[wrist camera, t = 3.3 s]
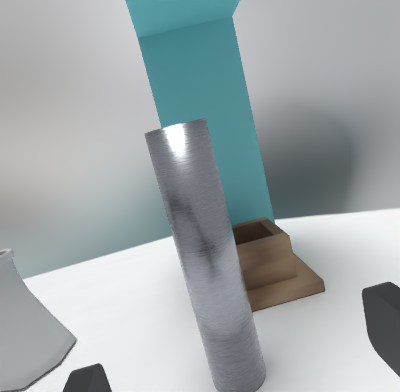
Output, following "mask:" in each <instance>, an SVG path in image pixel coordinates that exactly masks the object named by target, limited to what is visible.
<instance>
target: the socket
mask: <svg viewBox="0 0 400 392" xmlns="http://www.w3.org/2000/svg"><path fill="white" fill-rule="evenodd" d="M231 227H232V231H233V235H234V239H235V243H236V248H237V252H238V256H239V260H240V265H241V269H242V273H243V277H244V281H245V286H246V290H247V294H248V298H249V303H250V307H251V311H252V312H253V311H256V310H260V309H263V308H267V307H270V306H274V305H277V304H281V303H284V302H288V301H291V300H295V299H298V298H302V297H305V296H309V295H312V294H316V293H319V292H323V291H325V287H324V282H323V280H322V279H321V278H320V277H319V276H318V275H317V274H316V273H315V272H314V271H313V270H311V269H310V268H309V267H308V266H307V265H306V264H305V263H304V262H303V261H302V260H300V259H299V258H298V257H297V256H296V255H295V254H294V253H293V252H292V247H291V242H290V237H289V235H288V234H287V233H285V232H284V231H283V230H282V229H280V228H279V227H278V226H277V225H275V224H274V223H273V222H272V221H270V220H269V219H268V218H267V217H261V218H257V219H254V220H250V221H246V222H243V223H239V224H235V225H232V226H231Z"/></svg>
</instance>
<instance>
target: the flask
mask: <svg viewBox="0 0 400 392" xmlns="http://www.w3.org/2000/svg"><path fill="white" fill-rule="evenodd" d="M13 256H14V251H13V250H12V249H3V250H0V392H2V391H9V390H16V389H23V388H24V387H26V386H27V385H29V384H30V383H32V382H33V381H34V380H36V379H37V378H39V377H40V376H41V375H43V374H44V373H46V372H47V371H48V370H50V369H51V368H53V367H54V366H56V365H57V364H58V363H60V362H61V360H62V359H63V357H64V356H65V355H66V353H67V352H68V350H69V349H70V348H71V346H72V345H73V343H74V342H75V341H76V337H75V336H74V335H73V334H72V333H71V332H70V331H69V330H68V329H67V328H66V327H65V326H64V325H63V324H62V323H60V322H59V321H58V320H57V319H56V318H55V317H54V316H53V315H52V314H51V313H50V312H49V311H48V310H47V309H46V308H45V307H44V305H43V304H42V303H41V302H40V301H39V300H38V299H37V298H36V297H35V296H34V295H33V294H32V293H31V292H30V291H29V289H28V288H27V286H26V285H25V283H24V282H23V280H22V279H21V277H20V276H19V274H18V273H17V270H16V268H15V265H14V263H13V260H12V257H13Z"/></svg>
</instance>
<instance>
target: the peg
mask: <svg viewBox="0 0 400 392" xmlns="http://www.w3.org/2000/svg"><path fill="white" fill-rule="evenodd" d="M145 138H146V142H147V145H148V148H149V152H150V156H151V159H152V163H153V166H154V170H155V174H156V177H157V181H158V184H159V188H160V192H161V195H162V199H163V202H164V206H165V209H166V213H167V217H168V220H169V224H170V227H171V230H172V234H173V238H174V242H175V245H176V249H177V252H178V256H179V259H180V263H181V267H182V270H183V274H184V277H185V281H186V284H187V288H188V292H189V295H190V299H191V302H192V306H193V309H194V313H195V317H196V320H197V324H198V327H199V331H200V334H201V338H202V342H203V345H204V349H205V352H206V356H207V359H208V363H209V367H210V370H211V374H212V377H213V381H214V384H215V387H216V388H217V389H218V390H219V391H220V392H255V391H256V390H257V389H258V388H259V387H260V386H261V385H262V384H263V382H264V379H265V375H266V371H265V366H264V362H263V357H262V353H261V349H260V345H259V341H258V336H257V332H256V328H255V324H254V319H253V315H252V311H251V307H250V303H249V298H248V294H247V290H246V286H245V281H244V277H243V273H242V269H241V265H240V260H239V256H238V252H237V248H236V243H235V239H234V235H233V231H232V227H231V222H230V218H229V214H228V210H227V206H226V201H225V197H224V193H223V189H222V184H221V180H220V176H219V172H218V168H217V163H216V159H215V155H214V151H213V146H212V142H211V138H210V134H209V130H208V125H207V121H206V118H204V119H198V120H194V121H189V122H185V123H181V124H177V125H173V126H169V127H165V128H161V129H158V130H154V131H151V132H148V133H145Z"/></svg>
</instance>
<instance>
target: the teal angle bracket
mask: <svg viewBox="0 0 400 392" xmlns="http://www.w3.org/2000/svg"><path fill="white" fill-rule="evenodd" d="M239 1H240V0H126V3H127V6H128V9H129V12H130V15H131V19H132V22H133V25H134V28H135V31H136V34H137V37H138V41H139V45H140V48H141V52H142V56H143V60H144V63H145V67H146V71H147V75H148V78H149V82H150V86H151V89H152V93H153V97H154V101H155V104H156V108H157V112H158V116H159V119H160V123H161V127H162V128H165V127H169V126H173V125H177V124H181V123H185V122H189V121H194V120H198V119H204V118H206V121H207V125H208V130H209V134H210V138H211V142H212V146H213V151H214V155H215V159H216V163H217V168H218V172H219V176H220V180H221V184H222V189H223V193H224V197H225V201H226V206H227V210H228V214H229V218H230V222H231V226H232V225H235V224H239V223H243V222H246V221H250V220H254V219H257V218H261V217H267V218H268V219H269V220H270V221H272V222H273V223H274V224H275V222H274V217H273V212H272V207H271V203H270V198H269V193H268V188H267V183H266V178H265V173H264V169H263V164H262V159H261V154H260V150H259V145H258V140H257V135H256V130H255V125H254V120H253V115H252V110H251V106H250V101H249V96H248V91H247V87H246V81H245V77H244V72H243V67H242V62H241V57H240V53H239V48H238V43H237V38H236V33H235V28H234V24H233V18H232V15H233V13H234V11H235V9H236V7H237V5H238V3H239Z"/></svg>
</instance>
